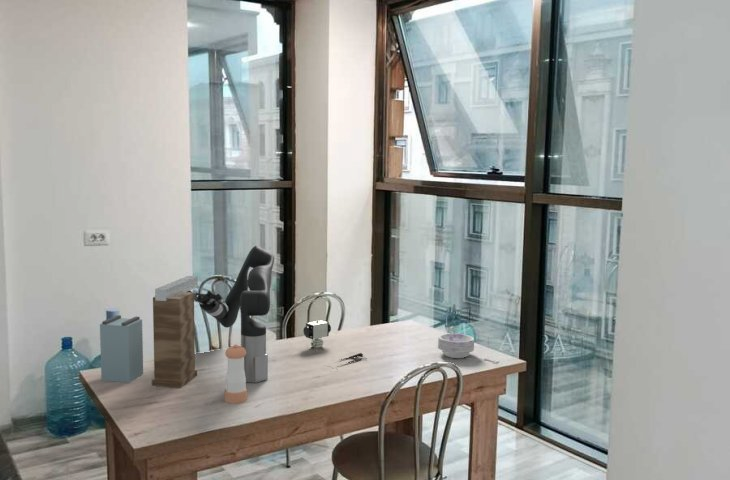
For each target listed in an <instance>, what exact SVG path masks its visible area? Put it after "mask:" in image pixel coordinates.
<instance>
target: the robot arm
mask: <svg viewBox="0 0 730 480" xmlns="http://www.w3.org/2000/svg"><path fill="white" fill-rule="evenodd" d="M274 263H275V256H274V254H273V253H272V252H270V251H267V250H266V249H264V248H262V247H260V246H258V245H254V246H253V247H252V248H251V249H250V251H249V252H248V254H247V255H246V257H245V260H244V261H243V264H242V266H241V268H240V270H239V272H238V275H237V278H236V279H235V281H234V284H233V286H232V287H231V289H230V290H229V292H228V294H227V295H226V297H225V300H224V298H223V296H221V294H219V293H213V292H212V291H210V290H207V293H205V294H204V293H199V292H194V303H198V304H199V307H200V308H201V309H202V310H203V311H204V312H205V313H206V314H208V315H210V316H211V317H212V318H214V319H215V320H216V321H217V322H218V323H219V324H220V325H222V327H224V328H226V329H227V328H230V327H232V326H234V324H235V323H236V321H237V318H238V315H239V312H240V346H241V347H243V348H245V350H246V355H245V357H244V371H245V377H246V383H254V384H257V383H260V382H263V381H267V380H268V379H269V376H268V375H269V374H268V373H269V369H268V368H269V355H268V354H267V327H266V325H265V324H263V323H261V322H258V321H256V320H254V319H252V318H251V317H254V316H255V317H258V316H259V317H260V316H261V317H262V316H266V315H267V314H268V313H269V312H270V308H271V286H272V272H273V271H272V270H273V268H274ZM251 268H252V269H251ZM250 269H251V270H250ZM249 270H250V271H249ZM187 292H192V290H190V291H187ZM223 300H224V302H225V304H224V303H223ZM250 316H251V317H250Z"/></svg>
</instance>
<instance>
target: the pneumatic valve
mask: <svg viewBox="0 0 730 480" xmlns="http://www.w3.org/2000/svg"><path fill="white" fill-rule="evenodd" d="M331 330H332V327H331V324H330V322H329V321H326V320H322V319H321V320H319V319H316V320H315V321H310V322H305V326H304V328H303V330H302V331H303V335H304V336H305V338H307V339H310V340H311V341H310V346H311V348H314V349H319V348H322V347H323V345H324V340H323V338H326V337H329V334H330V333H331Z"/></svg>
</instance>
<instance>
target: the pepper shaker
mask: <svg viewBox="0 0 730 480" xmlns="http://www.w3.org/2000/svg"><path fill="white" fill-rule="evenodd" d="M224 355H225V356H226V358H227V371H226V378H225V387H226V388H225V390H224V400H225V402H226V403H228V404H241V403H244V402H246V401H247V400H248V390H247V387H246V384H247V382H246V377H245V371H244V357H245V355H246V350H245V348H243V347H241V345H238V344H234V345H233V346H230V347H227V349H226V350H225V353H224Z"/></svg>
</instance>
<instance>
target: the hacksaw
mask: <svg viewBox="0 0 730 480" xmlns="http://www.w3.org/2000/svg"><path fill="white" fill-rule="evenodd" d="M357 356H361V357H357ZM363 356H364V354H363V353H362V352H360V353H356V354H353V355H349V356H348V357H346V358H341V359H340V360H342V359H346V360H349V359H350V358H353V359H352V360H350V361H348V363H350V362H353V363H355V362H354V361H356V362H359V361H362V360H363V359H364V357H363ZM354 357H356V358H354ZM358 360H359V361H358ZM365 360H368V358H367V357H365ZM350 364H351V363H350Z"/></svg>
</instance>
